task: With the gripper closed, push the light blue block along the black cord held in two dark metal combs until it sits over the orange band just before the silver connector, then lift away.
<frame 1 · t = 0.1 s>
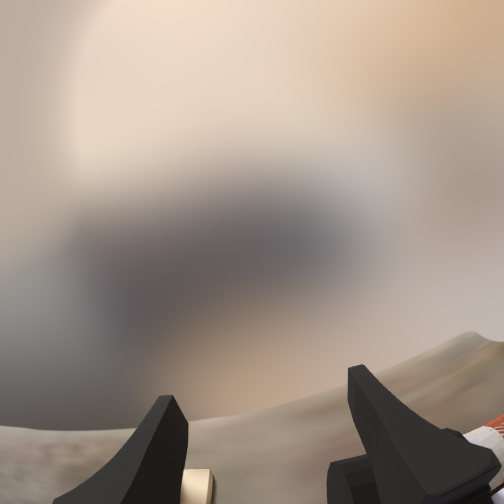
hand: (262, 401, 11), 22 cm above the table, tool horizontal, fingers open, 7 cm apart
black cylinder: (486, 472, 17), on the table
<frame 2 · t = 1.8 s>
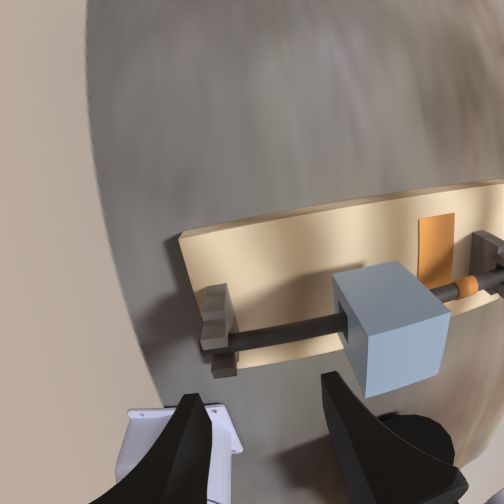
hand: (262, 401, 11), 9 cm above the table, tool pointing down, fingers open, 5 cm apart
cord board: (377, 268, 20), on the table
light blue block: (385, 323, 14), point 6 cm above the table, slide at 0.0 cm
black cylinder: (375, 474, 32), on the table
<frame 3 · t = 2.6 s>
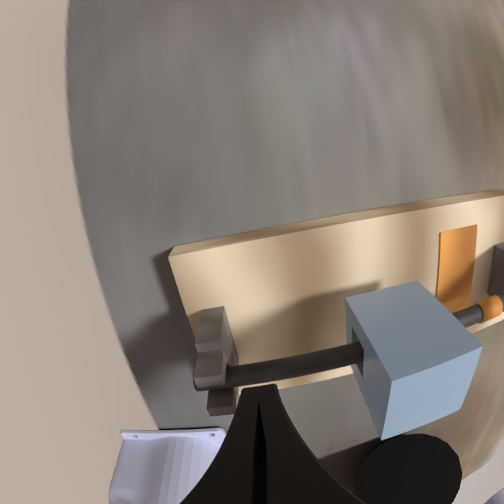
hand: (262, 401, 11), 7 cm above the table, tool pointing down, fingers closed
cord board: (392, 285, 17), on the table
light blue block: (404, 354, 12), point 6 cm above the table, slide at 0.0 cm
black cylinder: (379, 488, 30), on the table
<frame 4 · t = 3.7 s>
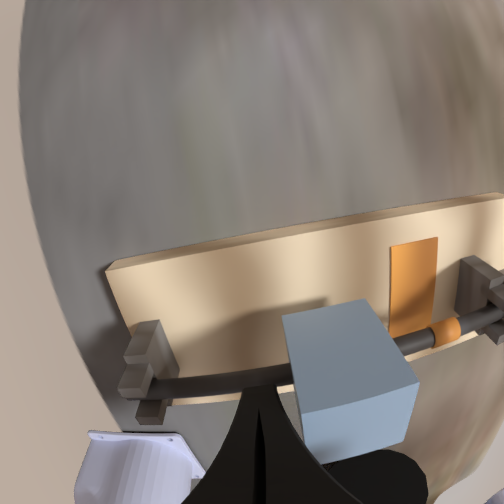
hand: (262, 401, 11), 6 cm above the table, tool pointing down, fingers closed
cord board: (341, 301, 17), on the table
light blue block: (341, 379, 12), point 6 cm above the table, slide at 0.4 cm, touching gripper
black cylinder: (353, 498, 29), on the table
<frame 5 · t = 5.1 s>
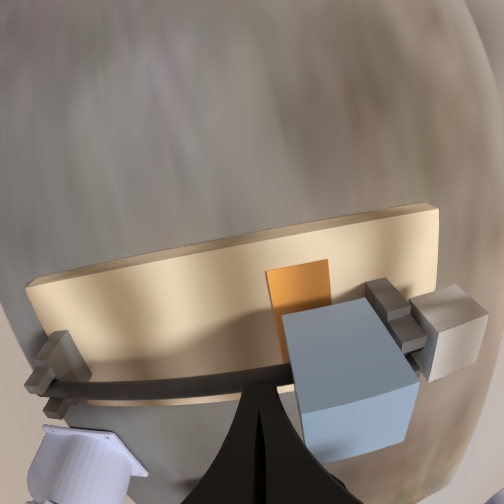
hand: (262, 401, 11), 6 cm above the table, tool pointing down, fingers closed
cord board: (231, 322, 17), on the table
light blue block: (342, 378, 12), point 6 cm above the table, slide at 6.8 cm, touching gripper
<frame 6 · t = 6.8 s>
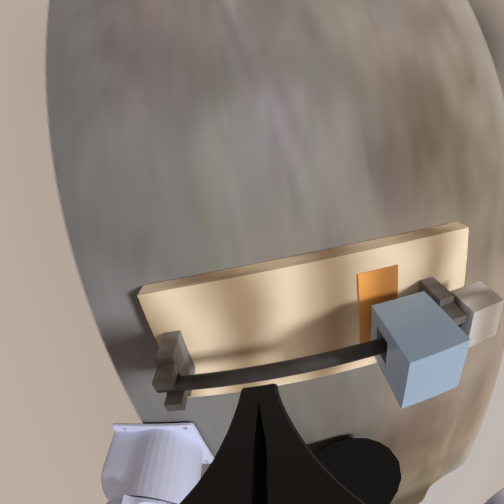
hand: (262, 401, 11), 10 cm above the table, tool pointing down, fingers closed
cord board: (321, 314, 22), on the table
light blue block: (415, 346, 16), point 6 cm above the table, slide at 6.9 cm
black cylinder: (344, 485, 34), on the table
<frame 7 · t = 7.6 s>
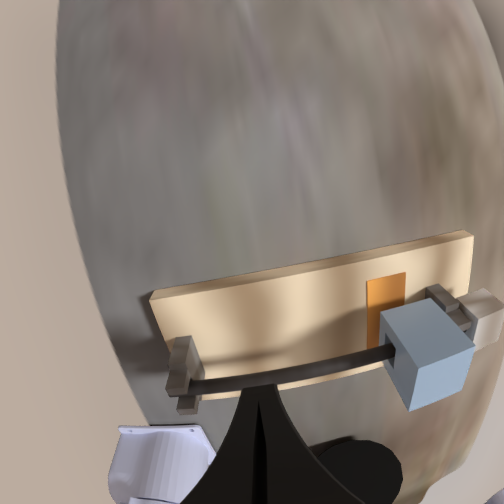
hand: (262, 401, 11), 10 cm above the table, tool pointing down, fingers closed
cord board: (329, 319, 22), on the table
light blue block: (422, 351, 16), point 6 cm above the table, slide at 6.9 cm
black cylinder: (345, 486, 35), on the table
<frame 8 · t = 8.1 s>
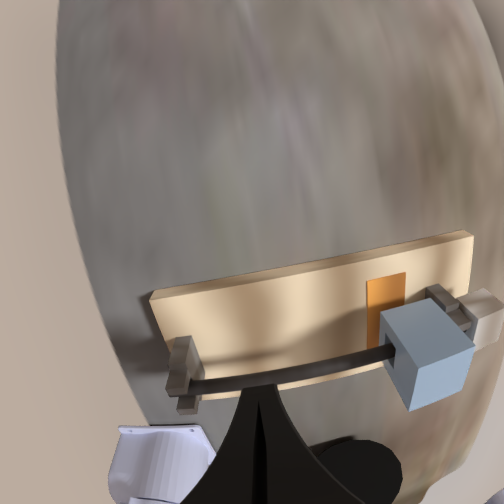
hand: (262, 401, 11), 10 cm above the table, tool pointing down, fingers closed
cord board: (329, 319, 22), on the table
light blue block: (422, 351, 16), point 6 cm above the table, slide at 6.9 cm
black cylinder: (345, 486, 35), on the table
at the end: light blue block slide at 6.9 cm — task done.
